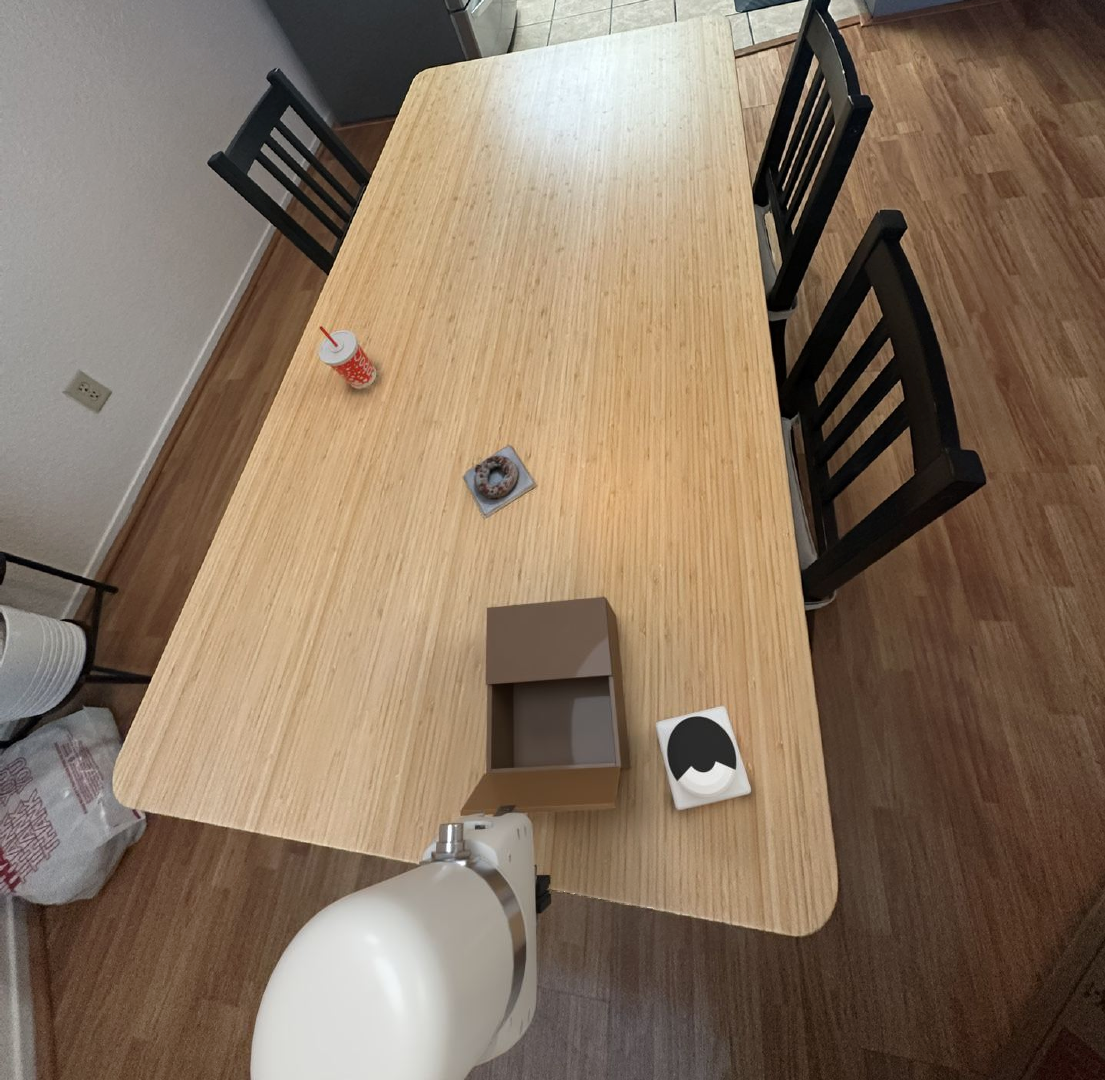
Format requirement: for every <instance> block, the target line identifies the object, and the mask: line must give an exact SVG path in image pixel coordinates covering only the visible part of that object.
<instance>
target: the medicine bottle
mask: <svg viewBox="0 0 1105 1080" xmlns="http://www.w3.org/2000/svg"><path fill="white" fill-rule="evenodd" d="M731 723H732V722H731V720H730V717H729V713H728V711H727V708H726V707H725V706H724V705H719V706H715V707H712V708H707V709H703V710H698V711H694V712H691V713H687V714H682V715H678V716H675V717H671V718H667V719H662V720H657V721H656V722H655V724H654V725H655V726H654V727H655V730H656V735H657V739H658V743H659V747H660V751H661V754H662V759H663V763H664V768H665V770H666V771H665V772H666V776H667V780H668V783H669V787H670V791H671V795H672V799H673V803H674V806H675V809H676V810H677V811H682V810H688V809H691V808H696V807H699V806H704V805H708V804H712V803H717V802H720V801H721V802H722V801H725V800H729V799H734V798H737V797H742V796H746V795H749V794H750V793H751V792H752V788H751V784H750V781H749V778H748V774H747V772H746V769H745V768H746V767H745V765H744V763H743V759H742V755H741V753H740V749H739V745H738V742H737V740H736V736H735V733H734V730H733V727H732V724H731Z"/></svg>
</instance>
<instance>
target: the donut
mask: <svg viewBox="0 0 1105 1080" xmlns="http://www.w3.org/2000/svg"><path fill="white" fill-rule="evenodd" d="M462 479H463V480H464V482H465V485H466V487H467V489H468V491H469V492H470V495H471V496H472V499H473V501H474V502H475V505H476V506H477V508H478V510H479V512H480V513H481V516H482V518H483V519H484V520H485V519H486V518H488V517H490V516H492V515H493V514H495V513H496V512H497V511H499V510H500V509H502V508H504V507H505V506H508V504H510V503H512V502H514V501H515V500H516V499H518V498H520V497H521V496H523V495H525V494H526V493H528V492H529V491H531V490H532V489H534V488H536V487H537V486H538V484H537V482H536V481H535V480H534V478H533V476H532V475H531V473H530V472H529V470H528V468H527V467H526V466H525V464H524V462H523V461H522V460H521V457H520V456H519V454H518V453H517V451H516V450H515V449H514V447H513V446H512V445H510V444H507V445H506V446H504V447H503V448H500V450H497V452H495V453H493V454H492V455H490V456H488V457H487V458H485V459H484V460H481V461H480V462H479V463H477V464H475V465H474V466H472V467H470V468H468V470H467V471H466V472H465V473H464V474H463V475H462Z"/></svg>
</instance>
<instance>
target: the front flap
mask: <svg viewBox="0 0 1105 1080" xmlns="http://www.w3.org/2000/svg"><path fill="white" fill-rule="evenodd" d="M620 775H621V769H620V766H615V767H597V768H578V769H560V770H542V771H524V772H505V773H487V774H486V773H484V774H483V775H482V777H481V778H480V779H479V781H478V783H477V785H476V786H475V787H474V789H473V790H472V792H471V794H470V795H469V796H468V798H467V800H466V802H465V803H464V805H463V806H462V807H461V809H460V810H459V811H460V816H461V817H464V816H467V815H472V814H479V813H485V816H486V815H487V816H488V815H489V816H491V815H494V814H495V812H496V811H497V809H498V808H499V806H504V805H517V806H518V813H524V814H531V813H533V814H534V813H535V814H536V813H553V812H556V813H557V812H576V811H577V812H579V811H598V810H599V811H600V810H615V809H616V803H617V796H618V790H619V789H618V788H619V783H620Z"/></svg>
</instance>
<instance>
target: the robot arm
mask: <svg viewBox="0 0 1105 1080" xmlns="http://www.w3.org/2000/svg"><path fill="white" fill-rule="evenodd" d="M438 831H439V832H438V833H437V834H436V835H435V836H434V837H433V839H432V840H431V841H430V843H429V844H428V846H427V848H426V849H425V850H424V852H423V854H422V857H421V860H420V861H418V866H417V867H415V868H413V869H409V870H407V871H406V872H402V873H400V874H398V875H396V876H393V877H391V878H388V879H385V880H383V881H380V882H378V883H375V884H372V885H370V886H367V887H364V888H362V889H359V890H357V891H355V892H352V893H350V894H347V895H345V896H342V897H340V898H339V899H336V900H335V901H334V902H332V903H329V904H328V905H327V906H325V907H324V908H322V909H321V910H320V911H318V912H317V913H316V914H314V916H312V917H311V918H310V919H309V920H308V921H307V922H305V924H304V925H303V926H302V928H301V929H299V931H298V932H297V933H296V935H295V936H294V937H293V938H292V940H291V941H290V942H289V943H288V945H287V946H286V948H285V950H284V951H283V953H282V954H281V956H280V958H279V960H278V961H277V964H276V965H275V966H274V969H273V971H272V973H271V975H270V977H269V980H268V982H267V985H266V987H265V990H264V991H263V994H262V998H261V1001H260V1004H259V1008H258V1010H257V1014H256V1017H255V1022H254V1023H255V1024H254V1029H253V1035H252V1041H251V1049H250V1050H251V1051H250V1052H251V1053H250V1064H249V1065H250V1069H249V1070H250V1072H249V1073H250V1080H465V1079H466V1078H467V1077H468V1075H469V1074H470V1072H471V1071H472V1070H473V1068H474V1067H477V1066H479V1065H482V1064H485V1063H487V1062H489V1061H491V1060H493V1059H495V1058H498V1057H499V1056H501V1055H503V1054H505V1053H506V1052H508V1051H509V1050H511V1048H513V1047H514V1046H515V1045H516V1044H517V1043H518V1041H520V1040H521V1039H522V1037H523V1036H524V1035H525V1033H526V1032H527V1030H528V1029H529V1028H530V1027H529V1026H530V1025H531V1023H532V1021H533V1018H534V1015H535V1012H536V1008H537V995H538V994H537V991H538V988H537V987H538V970H537V969H538V967H537V964H538V962H537V958H538V957H537V934H538V926H539V923H538V921H539V914H542V913H543V912H544V911H545V910H546V909H547V908H548V907H549V906H550V905H551V904H552V893H550V890H549V888H550V885H551V881H552V880H551V874H538V865H537V864H535V844H534V830H533V823H532V821H531V819H530V818H529V817H528V816H527V815H526V813H518V806H517V805H504V806H499V808H498V809H497V811H496V812H495V814H492V816H486V815H485V813H479V814H472V815H467V816H461V817H460V818H457V819H456V820H454V821H452V822H450V823H449V822H448V823H440V824H439V830H438Z"/></svg>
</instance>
